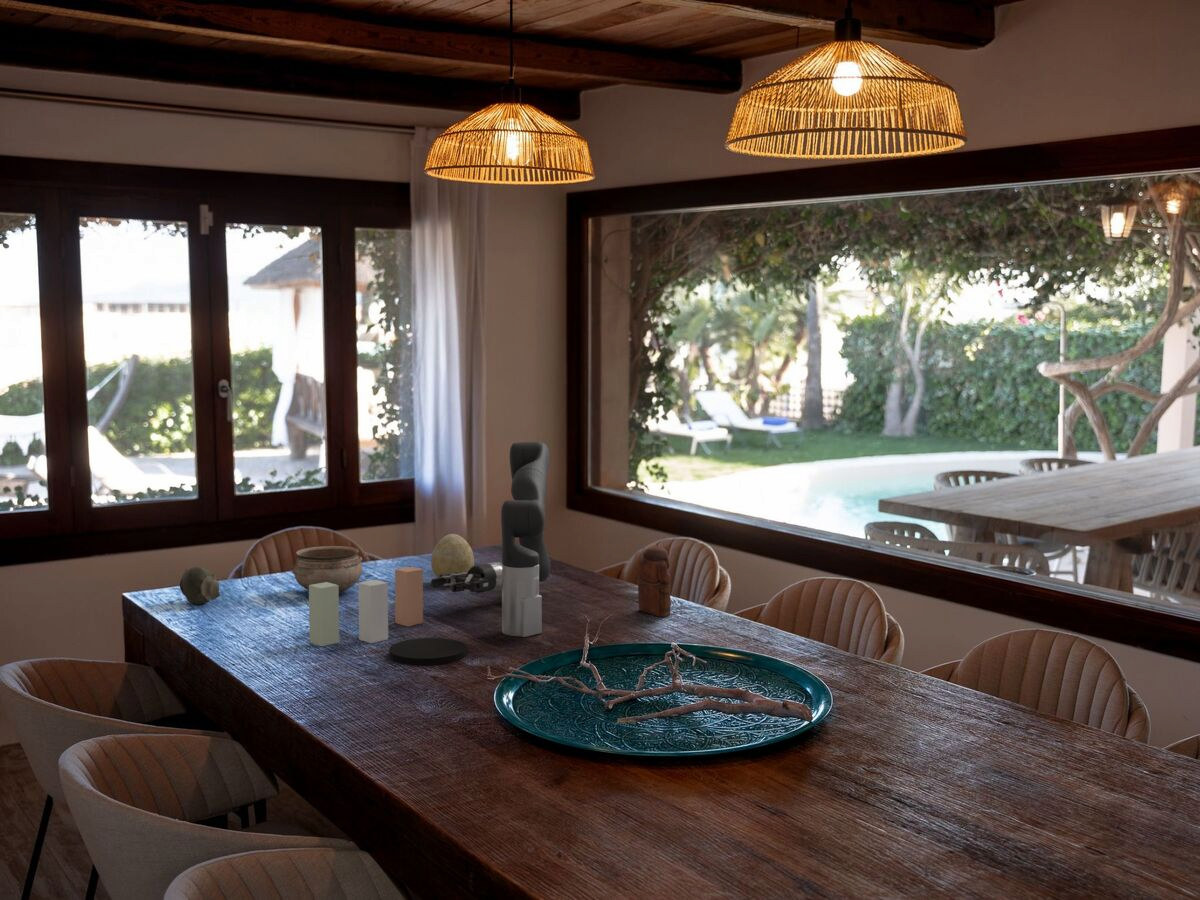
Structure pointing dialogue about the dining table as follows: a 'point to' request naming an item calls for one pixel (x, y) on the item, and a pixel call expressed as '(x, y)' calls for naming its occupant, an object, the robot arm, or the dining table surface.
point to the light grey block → (373, 611)
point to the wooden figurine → (654, 582)
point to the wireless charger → (427, 651)
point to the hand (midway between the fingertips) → (442, 585)
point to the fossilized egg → (452, 556)
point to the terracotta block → (409, 596)
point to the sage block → (324, 613)
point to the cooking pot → (328, 566)
